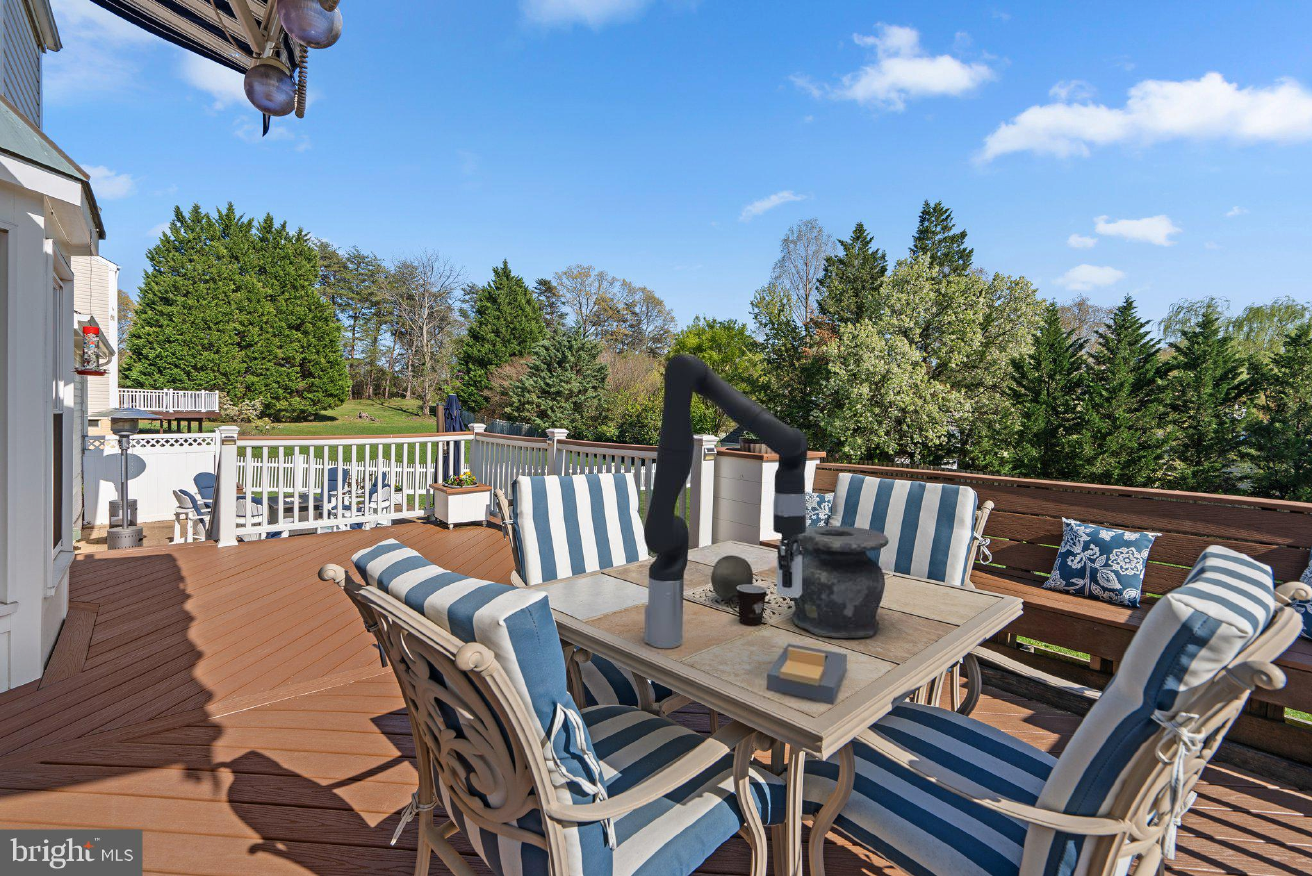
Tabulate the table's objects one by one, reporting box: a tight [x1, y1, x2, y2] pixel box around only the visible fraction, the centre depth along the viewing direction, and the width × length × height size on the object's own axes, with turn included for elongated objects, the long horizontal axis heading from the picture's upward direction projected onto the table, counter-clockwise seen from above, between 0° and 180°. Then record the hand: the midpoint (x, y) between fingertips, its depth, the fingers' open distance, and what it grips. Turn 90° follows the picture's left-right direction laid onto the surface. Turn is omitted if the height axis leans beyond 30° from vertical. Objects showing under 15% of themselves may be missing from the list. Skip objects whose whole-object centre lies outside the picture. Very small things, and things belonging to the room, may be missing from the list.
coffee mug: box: [727, 584, 767, 627], centre depth 169 cm, size 12×9×10 cm
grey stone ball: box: [710, 554, 754, 603], centre depth 189 cm, size 14×14×15 cm
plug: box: [776, 555, 802, 598], centre depth 137 cm, size 5×4×9 cm
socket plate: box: [766, 643, 848, 705], centre depth 132 cm, size 14×20×4 cm
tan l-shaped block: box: [780, 647, 825, 686], centre depth 126 cm, size 8×8×4 cm
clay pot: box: [791, 525, 890, 639], centre depth 170 cm, size 29×30×30 cm
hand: (789, 584), depth 137 cm, fingers closed on plug, 4 cm apart
